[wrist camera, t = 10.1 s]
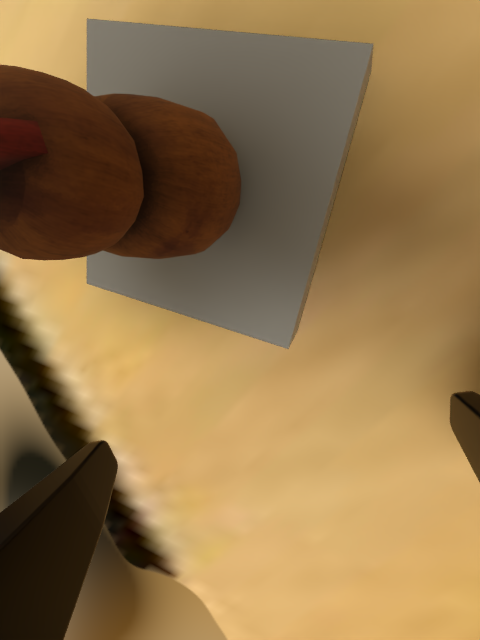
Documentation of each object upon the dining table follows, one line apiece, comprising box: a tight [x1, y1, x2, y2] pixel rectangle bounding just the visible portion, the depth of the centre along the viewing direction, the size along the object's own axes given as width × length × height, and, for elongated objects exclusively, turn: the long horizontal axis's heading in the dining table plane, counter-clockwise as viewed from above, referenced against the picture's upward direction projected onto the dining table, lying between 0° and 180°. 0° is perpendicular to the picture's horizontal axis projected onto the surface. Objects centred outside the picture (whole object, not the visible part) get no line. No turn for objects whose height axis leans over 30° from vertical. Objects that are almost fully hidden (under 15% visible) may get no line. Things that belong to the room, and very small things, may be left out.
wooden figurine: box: [0, 65, 241, 260], centre depth 11 cm, size 7×6×15 cm
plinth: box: [87, 19, 373, 349], centre depth 19 cm, size 14×14×3 cm
